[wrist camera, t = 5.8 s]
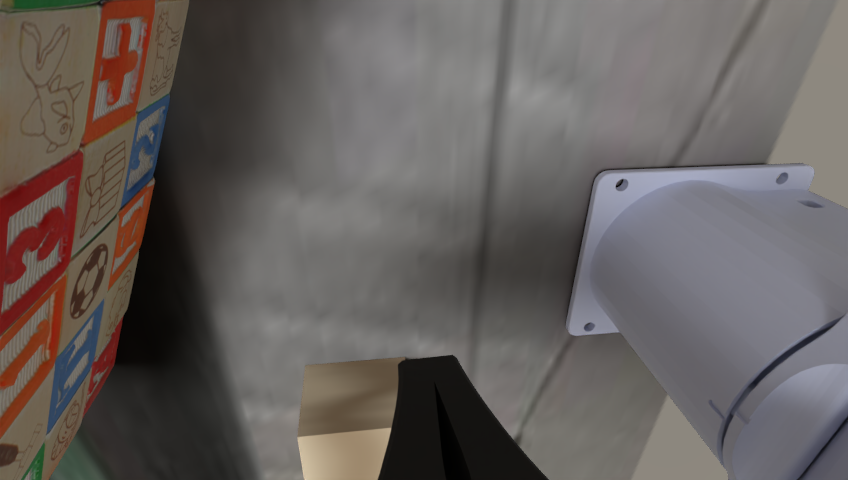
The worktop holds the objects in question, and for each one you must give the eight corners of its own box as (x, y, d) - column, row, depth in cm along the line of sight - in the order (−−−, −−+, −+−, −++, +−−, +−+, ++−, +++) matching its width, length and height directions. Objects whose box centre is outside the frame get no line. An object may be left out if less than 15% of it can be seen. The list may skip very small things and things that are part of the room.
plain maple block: (404, 355, 22) (414, 425, 19) (404, 422, 24) (413, 496, 21) (305, 363, 22) (297, 437, 18) (314, 431, 24) (308, 509, 20)
